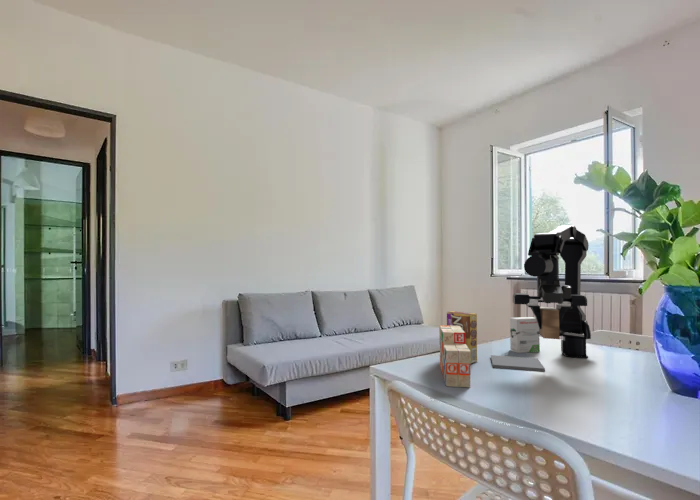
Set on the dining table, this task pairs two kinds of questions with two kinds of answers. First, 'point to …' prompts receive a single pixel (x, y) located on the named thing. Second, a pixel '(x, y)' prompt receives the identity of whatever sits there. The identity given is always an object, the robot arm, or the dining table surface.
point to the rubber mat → (517, 363)
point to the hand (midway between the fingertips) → (548, 329)
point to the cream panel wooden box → (549, 323)
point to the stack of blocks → (454, 356)
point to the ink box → (524, 335)
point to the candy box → (466, 329)
